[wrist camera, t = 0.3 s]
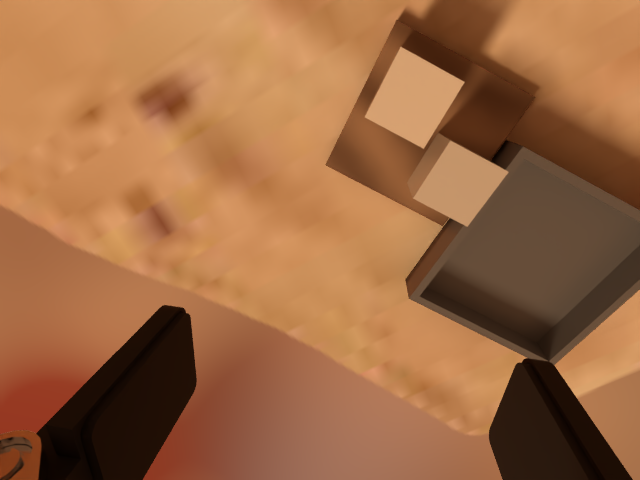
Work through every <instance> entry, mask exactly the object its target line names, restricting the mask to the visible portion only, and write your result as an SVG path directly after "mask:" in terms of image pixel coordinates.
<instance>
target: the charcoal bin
mask: <svg viewBox="0 0 640 480" xmlns="http://www.w3.org/2000/svg"><path fill="white" fill-rule="evenodd" d="M491 162H493V163H495V164H496V165H498V166H500V167H501V168H503V169H505V170H506V171H508V174H507V175H506V176H505V178H504V179H503V180H502V182H501V183H500V184H499V186H498V187H497V188H496V190H495V191H494V192H493V193H492V195H491V196H490V197H489V199H488V200H487V201H486V203H485V204H484V205H483V207H482V208H481V209H480V211H479V212H478V213H477V215H476V216H475V217H474V219H473V220H472V221H471V223H470V224H469V225H468V227H467V226H465V225H463V224H461V223H459V222H457V221H455V220H453V219H451V218H450V219H449V220H448V221H447V223H446V224H445V226H444V227H443V228H442V230H441V231H440V232H439V234H438V235H437V237H436V238H435V239H434V241H433V242H432V244H431V245H430V246H429V248H428V249H427V251H426V252H425V253H424V255H423V256H422V257H421V259H420V260H419V262H418V263H417V264H416V266H415V267H414V269H413V270H412V271H411V273H410V274H409V276H408V277H407V278H406V285H407V291H408V296H409V299H411V300H413V301H415V302H417V303H419V304H421V305H423V306H425V307H427V308H429V309H431V310H433V311H435V312H437V313H439V314H441V315H443V316H445V317H447V318H449V319H451V320H453V321H455V322H457V323H459V324H461V325H463V326H465V327H467V328H469V329H471V330H473V331H475V332H477V333H479V334H481V335H483V336H485V337H487V338H489V339H491V340H493V341H495V342H497V343H499V344H501V345H503V346H505V347H507V348H509V349H511V350H513V351H515V352H517V353H519V354H521V355H523V356H525V357H527V358H530V359H536V360H543V361H549V362H551V363H552V364H553V365H555V364H556V363H557V362H558V361H559V360H560V359H562V358H563V357H564V356H565V355H566V354H567V353H568V352H570V351H571V350H572V349H573V348H574V347H575V346H576V345H577V344H579V343H580V342H581V341H582V340H583V339H584V338H585V337H586V336H588V335H589V334H590V333H591V332H592V331H593V330H594V329H596V328H597V327H598V326H599V325H600V324H601V323H602V322H603V321H605V320H606V319H607V318H608V317H609V316H610V315H611V314H612V313H614V312H615V311H616V310H617V309H618V308H619V307H620V306H622V305H623V304H624V303H625V302H626V301H627V300H628V299H629V298H631V297H632V296H633V295H634V294H635V293H636V292H637V291H638V290H640V210H638V209H637V208H635V207H633V206H631V205H629V204H628V203H626V202H624V201H622V200H620V199H618V198H617V197H615V196H613V195H611V194H609V193H607V192H606V191H604V190H602V189H600V188H598V187H596V186H595V185H593V184H591V183H589V182H587V181H585V180H584V179H582V178H580V177H578V176H576V175H574V174H573V173H571V172H569V171H567V170H565V169H563V168H562V167H560V166H558V165H556V164H554V163H553V162H551V161H549V160H547V159H545V158H543V157H542V156H540V155H538V154H536V153H534V152H532V151H531V150H529V149H527V148H525V147H523V146H521V145H518V144H515V143H513V142H510V141H507V140H506V141H505V142H504V144H503V145H502V146H501V148H500V149H499V151H498V152H497V153H496V155H495V156H494V157H493V159H492V160H491Z"/></svg>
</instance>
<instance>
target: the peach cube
mask: <svg viewBox="0 0 640 480" xmlns="http://www.w3.org/2000/svg"><path fill="white" fill-rule="evenodd" d="M464 83H465V82H464V81H462V80H460V79H458V78H456V77H454V76H453V75H451V74H449V73H447V72H445V71H444V70H442V69H440V68H438V67H436V66H435V65H433V64H431V63H429V62H427V61H426V60H424V59H422V58H420V57H418V56H417V55H415V54H413V53H411V52H409V51H408V50H406V49H404V48H402V47H400V48H399V50H398V51H397V53H396V54H395V56H394V58H393V60H392V62H391V64H390V66H389V68H388V70H387V72H386V74H385V76H384V78H383V80H382V82H381V84H380V86H379V88H378V90H377V92H376V94H375V96H374V97H373V99H372V101H371V103H370V105H369V107H368V109H367V111H366V113H365V118H367V119H369V120H371V121H373V122H374V123H376V124H378V125H380V126H382V127H384V128H386V129H388V130H389V131H391V132H393V133H395V134H397V135H399V136H401V137H403V138H404V139H406V140H408V141H410V142H412V143H414V144H416V145H418V146H419V147H421V148H423V149H424V148H425V146H426V144H427V143H428V141H429V139H430V138H431V136H432V135H433V133H434V131H435V130H436V128H437V126H438V125H439V123H440V122H441V120H442V118H443V117H444V115H445V113H446V112H447V110H448V109H449V107H450V105H451V104H452V102H453V100H454V99H455V97H456V96H457V94H458V92H459V91H460V89H461V87H462V86H463V84H464Z"/></svg>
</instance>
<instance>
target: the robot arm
mask: <svg viewBox="0 0 640 480" xmlns="http://www.w3.org/2000/svg"><path fill="white" fill-rule="evenodd" d="M195 387H196V369H195V359H194V349H193V338H192V328H191V318H190V315H189V314H187V313H186V312H185V309H184V308H180V307H174V306H167V305H164V306H162V307H161V308H159V309H158V311H156V312H155V314H153V316H152V317H151V318H150V319H149V320H148V321H147V322H146V323H145V324H144V325H143V326H142V327H141V328H140V329H139V330H138V331H137V332H136V333H135V334H134V335H133V336H132V337H131V338H130V339H129V340H128V341H127V342H126V343H125V344H124V345H123V346H122V347H121V348H120V349H119V350H118V351H117V352H116V353H115V354H114V355H113V356H112V357H111V358H110V359H109V360H108V361H107V362H106V363H105V364H104V365H103V366H102V367H101V368H100V369H99V370H98V371H97V372H96V373H95V374H94V375H93V376H92V377H91V378H90V379H89V380H88V381H87V382H86V383H85V384H84V385H83V386H82V387H81V388H80V389H79V390H78V391H77V392H76V394H75V395H74V396H73V397H72V398H71V399H70V400H69V401H68V402H67V403H66V404H65V405H64V406H63V407H62V408H61V409H60V410H59V411H58V412H57V413H56V414H55V415H54V416H53V417H52V418H51V419H50V420H49V421H48V422H47V423H46V424H45V425H44V426H43V427H42V428H41V429H40V430H39V431H38V432H37V433H34V432H30V431H27V430H19V431H12V432H8V433H4V434H1V435H0V480H143V478H144V476H145V474H146V473H147V471H148V469H149V468H150V466H151V464H152V463H153V461H154V459H155V457H156V455H157V454H158V452H159V451H160V449H161V447H162V446H163V444H164V442H165V440H166V439H167V437H168V435H169V434H170V432H171V430H172V428H173V427H174V425H175V423H176V422H177V420H178V418H179V416H180V415H181V413H182V411H183V410H184V408H185V406H186V405H187V403H188V401H189V399H190V398H191V396H192V394H193V392H194V390H195ZM489 440H490V444H491V447H492V450H493V453H494V456H495V459H496V462H497V464H498V467H499V470H500V473H501V476H502V479H503V480H633V479H632V478H631V477H630V475H629V474H628V472H627V471H626V469H625V468H624V466H623V465H622V463H621V462H620V461H619V459H618V458H617V456H616V455H615V453H614V452H613V450H612V449H611V447H610V446H609V445H608V443H607V442H606V440H605V439H604V437H603V436H602V434H601V433H600V431H599V430H598V428H597V427H596V426H595V424H594V423H593V421H592V420H591V418H590V417H589V416H588V414H587V412H586V411H585V410H584V408H583V407H582V405H581V404H580V402H579V401H578V399H577V398H576V396H575V395H574V394H573V392H572V391H571V389H570V388H569V386H568V385H567V383H566V382H565V380H564V379H563V378H562V376H561V375H560V373H559V372H558V370H557V369H556V367H555V366H554V365H553V364H552V363H551V362H549V361H543V360H536V359H530V358H526V359H524V360H523V362H522V363H517V364H516V366H515V368H514V370H513V373H512V375H511V378H510V380H509V383H508V385H507V388H506V390H505V393H504V395H503V397H502V400H501V402H500V405H499V407H498V410H497V412H496V415H495V417H494V420H493V422H492V424H491V427H490V430H489Z"/></svg>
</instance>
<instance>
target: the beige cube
mask: <svg viewBox="0 0 640 480" xmlns="http://www.w3.org/2000/svg"><path fill="white" fill-rule="evenodd" d="M507 174H508V171H506V170H505V169H503V168H501V167H500V166H498V165H496V164H495V163H493V162H491V161H490V160H488V159H486V158H484V157H482V156H481V155H479V154H477V153H475V152H473V151H471V150H469V149H468V148H466V147H464V146H462V145H460V144H458V143H456V142H455V141H453V140H451V139H449V138H447V137H445V136H443V135H442V134H440V133H438V134H437V135H436V137H435V138H434V140H433V142H432V143H431V145H430V146H429V148H428V150H427V151H426V153H425V154H424V156H423V158H422V159H421V161H420V163H419V164H418V166H417V167H416V169H415V171H414V172H413V174H412V175H411V177H410V179H409V180H408V182H407V184H408V187H409V189H410V192H411V195H412V197H413V199H415V200H417V201H419V202H421V203H423V204H425V205H426V206H428V207H430V208H432V209H434V210H436V211H438V212H440V213H442V214H444V215H446V216H448V217H449V218H451V219H453V220H455V221H457V222H459V223H461V224H463V225H465V226H467V227H468V225H469V224H470V223H471V221H472V220H473V219H474V217H475V216H476V215H477V213H478V212H479V211H480V209H481V208H482V207H483V205H484V204H485V203H486V201H487V200H488V199H489V197H490V196H491V195H492V193H493V192H494V191H495V190H496V188H497V187H498V186H499V184H500V183H501V182H502V180H503V179H504V178H505V176H506V175H507Z"/></svg>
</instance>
